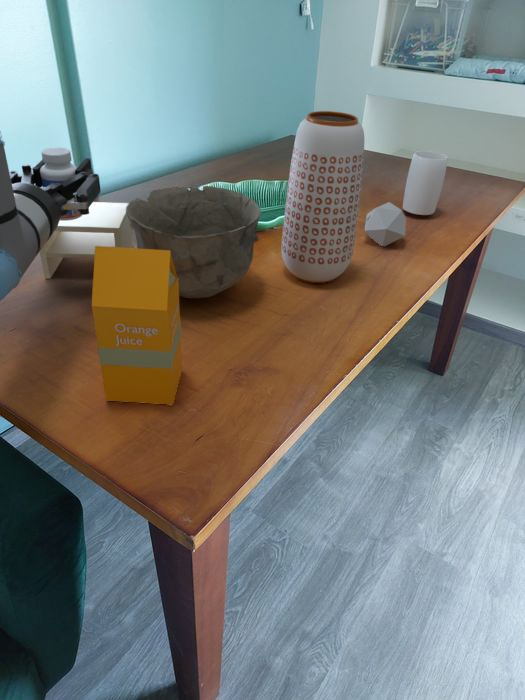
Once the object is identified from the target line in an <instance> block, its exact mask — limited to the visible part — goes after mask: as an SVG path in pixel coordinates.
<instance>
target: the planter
mask: <svg viewBox="0 0 525 700" xmlns="http://www.w3.org/2000/svg"><path fill="white" fill-rule="evenodd" d="M364 131H365V130H364V127H363V125H362V124H361V123H360V122H359V118H358V117H357V116H355V115H354V114H351V113H346V112H340V111H333V110H332V111H331V110H330V111H329V110H317V111H312V112H309V113H307V115H306V117H305V118H303V120H302V121H300V123H299V125H298V127H297V129H296V133H295V139H294V144H293V149H292V150H293V151H292V155H291V161H290V168H289V175H288V183H287V189H286V199H285V206H284V207H285V208H284V217H283V224H282V236H281V244H280V245H281V249H280V251H281V257H282V260H283V261H282V262H283V263H284V265H285V267H286V268H287V269H288V271H289V272H290V273H291V275H292V276H293V277H294V278H296V279H297V280H299V281H301V282H303V283H307V282H308V283H307V284H314V283H322V284H327V283H326V282H328V283H331V282H333V281H335V280H336V279H337V278H339V276H341V275H342V274H343V273H344V272H345V271H346V270H347V269H348V267H349V265H350V263H351V261H352V258H353V254H354V250H355V249H354V248H355V241H356V233H357V227H358V226H357V225H358V218H359V211H360V210H359V209H360V202H361V193H362V183H363V182H362V181H363V172H364V160H365V159H364V157H365V132H364ZM334 279H335V280H334ZM330 281H331V282H330Z"/></svg>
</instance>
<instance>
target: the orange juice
mask: <svg viewBox="0 0 525 700" xmlns="http://www.w3.org/2000/svg"><path fill="white" fill-rule="evenodd" d="M93 261H94V262H93V279H92V293H91V308H92V314H93V315H92V316H93V323H94V329H95V337H96V343H97V351H98V358H99V365H100V367H101V375H102V382H103V388H104V394H105V395H104V396H105V401H106V400H109V401H110V400H112V401H123V402H124V401H125V402H127V401H128V402H145V403H155V404H156V403H158V404H168V405H167V406H170V405H169V404H172V405H173V403H174V404H175V401H176V397H175V395H176V396H177V393H178V389H179V385H180V381H181V378H180V377H182V374H181V373H183V359H182V358H183V356H182V355H183V354H182V323H181V311H180V309H181V307H180V296H179V284H178V278H177V275H176V271H175V267H174V264H173V260H172V256H171V252H170V250H154V249H137V247H136V248H135V247H134V248H121V247H105V246H95V258H93ZM179 380H180V381H179ZM178 384H179V385H178ZM177 388H178V389H177ZM176 392H177V393H176ZM174 400H175V401H174ZM155 404H154V405H155ZM172 405H171V406H172ZM173 406H174V405H173Z"/></svg>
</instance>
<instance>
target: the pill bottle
mask: <svg viewBox="0 0 525 700" xmlns="http://www.w3.org/2000/svg"><path fill="white" fill-rule="evenodd" d="M40 153H41V160H43V162H44V163H45V165H43V166H42V167H41V169H40V175H41V181H42V187H47V186H49V185H51V184H53V183H57V184H60V183H62V182H64V181H66V180H68V179H69V178H71V177H73V176H75V175H76V174H75V170H76V169H77V168H78V166H76V164H73V163H71V162H72V154H71V150H70V149H69V148H65V147H48V148H45V149H42V150H41V151H40ZM81 216H82V214H80V211H78V212H77V211H76V210H68V213H67V214H66V215H64V216H61V217H60V220H61V221H67V220H74V219H77V218H79V217H81Z"/></svg>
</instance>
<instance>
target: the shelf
mask: <svg viewBox="0 0 525 700" xmlns="http://www.w3.org/2000/svg"><path fill="white" fill-rule="evenodd" d="M129 203H130V202H107V201H106V202H105V201H103V202H102V201H93V203H92V204H91V205H90V207H89V214H87V215H82V216H81V217H79V218H77V219H74V220H67V221H61V220H59V223H58V226H57V228H56V230H55V231H54V233H53V234H52V235H51V237H50V238H49V240H48V241H47V242H46V243H45V245H44V246H43V248H42V249H41V250H40V252H39V256H40V261H41V265H42V270H43V275H44V279H51V278H52V277H53V275H54V273H55V272H56V270H57V269H58V268H59V265H60V264H61V262H62V260H63V259H64V258H68V259H69V258H71V259H72V258H73V259H95V246H105V247H121V248H135V240H134V229H133V228H132V227H131V226H130V224H131V223H130V221H129V219H128V217H127V214H126V206H127V205H128V204H129Z"/></svg>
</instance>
